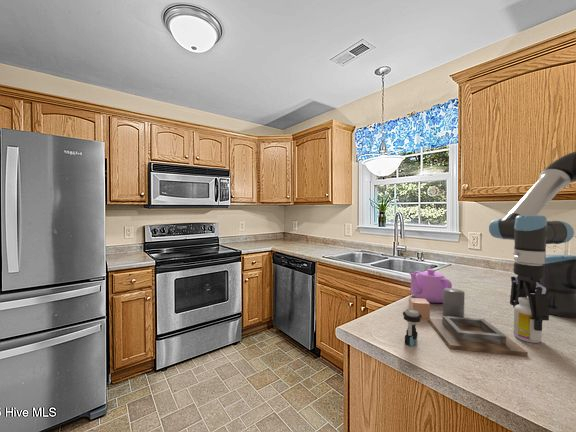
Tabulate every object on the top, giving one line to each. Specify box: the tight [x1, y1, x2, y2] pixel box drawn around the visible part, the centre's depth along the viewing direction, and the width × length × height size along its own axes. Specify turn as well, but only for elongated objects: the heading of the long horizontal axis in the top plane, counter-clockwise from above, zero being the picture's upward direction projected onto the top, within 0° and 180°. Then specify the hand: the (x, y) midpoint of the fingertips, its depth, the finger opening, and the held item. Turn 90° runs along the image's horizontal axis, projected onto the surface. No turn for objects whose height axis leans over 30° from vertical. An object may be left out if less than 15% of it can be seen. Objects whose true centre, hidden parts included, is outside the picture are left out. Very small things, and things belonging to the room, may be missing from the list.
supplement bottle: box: [513, 296, 542, 344], centre depth 86 cm, size 7×7×13 cm
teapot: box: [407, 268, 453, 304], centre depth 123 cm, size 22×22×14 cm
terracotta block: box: [408, 297, 431, 320], centre depth 104 cm, size 6×6×6 cm
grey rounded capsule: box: [442, 288, 465, 317], centre depth 103 cm, size 7×7×10 cm
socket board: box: [428, 315, 529, 357], centre depth 87 cm, size 20×20×4 cm
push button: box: [402, 308, 422, 347], centre depth 83 cm, size 7×5×10 cm
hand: (527, 333), depth 86 cm, fingers closed on supplement bottle, 7 cm apart
